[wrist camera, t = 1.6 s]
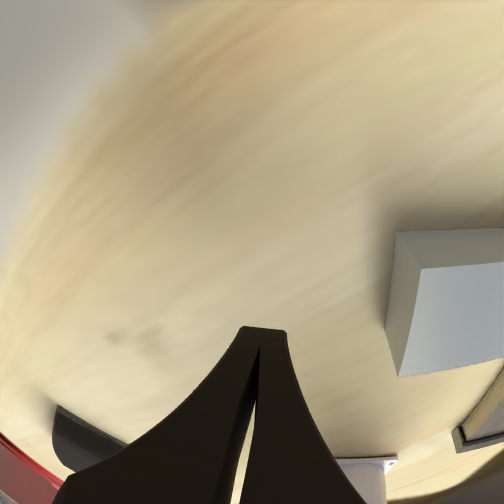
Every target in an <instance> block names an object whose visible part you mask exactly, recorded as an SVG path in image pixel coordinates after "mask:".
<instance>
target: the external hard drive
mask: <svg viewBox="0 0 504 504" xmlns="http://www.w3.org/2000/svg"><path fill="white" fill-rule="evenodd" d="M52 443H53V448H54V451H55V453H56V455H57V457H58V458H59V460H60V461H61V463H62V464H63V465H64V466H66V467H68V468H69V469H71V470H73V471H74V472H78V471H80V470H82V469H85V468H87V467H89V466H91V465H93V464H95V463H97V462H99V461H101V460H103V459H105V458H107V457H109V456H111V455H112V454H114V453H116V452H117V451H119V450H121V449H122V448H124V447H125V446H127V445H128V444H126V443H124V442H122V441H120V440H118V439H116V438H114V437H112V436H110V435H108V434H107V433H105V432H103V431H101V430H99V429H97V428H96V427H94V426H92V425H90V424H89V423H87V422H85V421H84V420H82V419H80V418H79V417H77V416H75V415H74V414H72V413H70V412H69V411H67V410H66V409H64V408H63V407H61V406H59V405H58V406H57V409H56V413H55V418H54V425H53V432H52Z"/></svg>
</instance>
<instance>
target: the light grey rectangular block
mask: <svg viewBox="0 0 504 504" xmlns="http://www.w3.org/2000/svg"><path fill="white" fill-rule="evenodd" d="M385 333H386V336H387V340H388V343H389V347H390V350H391V354H392V357H393V361H394V364H395V368H396V372H397V375H398V377H405V376H413V375H419V374H426V373H432V372H438V371H444V370H449V369H454V368H459V367H464V366H469V365H474V364H478V363H482V362H487V361H491V360H495V359H499V358H503V357H504V227H503V228H473V229H446V230H421V231H398V232H395V245H394V258H393V269H392V279H391V287H390V296H389V303H388V310H387V317H386V324H385Z"/></svg>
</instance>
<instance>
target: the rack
mask: <svg viewBox="0 0 504 504" xmlns="http://www.w3.org/2000/svg"><path fill="white" fill-rule="evenodd" d="M451 434H452V438H453V441H454V445H455V449H456V453H457V454H458V453H462V452H467V451H471V450H475V449H479V448H483V447H487V446H491V445H494V444H498V443H501V442H504V368H503V369H502V371H501V372H500V374H499V375H498V377H497V378H496V380H495V381H494V383H493V384H492V386H491V387H490V388H489V390H488V391H487V393H486V394H485V395H484V397H483V398H482V399H481V401H480V402H479V403H478V405H477V406H476V407H475V409H474V410H473V411H472V412H471V414H470V415H469V416H468V417H467V419H466V420H465V421H464V422H463V423H462V426H457V427H456V428H455V430H454V431H453V432H452V433H451Z"/></svg>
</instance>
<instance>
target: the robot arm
mask: <svg viewBox="0 0 504 504" xmlns="http://www.w3.org/2000/svg"><path fill="white" fill-rule="evenodd" d="M255 400H256V403H255ZM254 404H255V421H254V431H253V437H252V442H251V447H250V453H249V458H248V463H247V468H246V473H245V478H244V483H243V488H242V493H241V497H240V502H239V504H387V496H386V484H385V474H386V473H387V472H388V471H389V470H390V469H391V468H392V467H393V465H394V464H395V463H396V462H397V461H398V457H396V456H393V457H381V458H361V459H334V457H333V456H332V454H331V452H330V450H329V449H328V447H327V445H326V443H325V442H324V440H323V438H322V436H321V434H320V432H319V430H318V428H317V426H316V424H315V422H314V420H313V418H312V416H311V414H310V412H309V409H308V407H307V404H306V402H305V400H304V397H303V395H302V392H301V389H300V386H299V384H298V381H297V378H296V375H295V372H294V368H293V365H292V361H291V357H290V353H289V348H288V342H287V333H286V332H285V331H284V330H276V329H267V328H258V327H249V326H243V327H241V328H240V329H239V331H238V333H237V335H236V337H235V338H234V340H233V342H232V343H231V345H230V346H229V348H228V349H227V351H226V352H225V354H224V355H223V356H222V358H221V359H220V360H219V362H218V363H217V364H216V365H215V367H214V368H213V369H212V371H211V372H210V373H209V374H208V375H207V377H206V378H205V379H204V380H203V381H202V382H201V383H200V384H199V386H198V387H197V388H196V389H195V390H194V391H193V392H192V393H191V394H190V395H189V396H188V397H187V398H186V399H185V400H184V401H183V402H182V403H181V404H180V405H179V406H178V407H177V408H176V409H175V410H174V411H172V412H171V413H170V414H169V415H168V416H167V417H166V418H164V419H163V420H162V421H161V422H159V423H158V424H157V425H156V426H154V427H153V428H152V429H150V430H149V431H148V432H146V433H145V434H144V435H142V436H141V437H139V438H138V439H137V440H135V441H133V442H132V443H130V444H129V445H127V446H125V447H124V448H122V449H121V450H119V451H117V452H116V453H114V454H112V455H111V456H109V457H107V458H105V459H103V460H101V461H99V462H97V463H95V464H93V465H91V466H89V467H87V468H85V469H82V470H80V471H78V472H76V473H73V474H71V475H69V476H68V477H67V479H66V480H65V482H64V483H63V485H62V486H61V487H60V489H59V491H58V492H57V495H56V496H55V499H54V501H53V503H52V504H230V502H231V497H232V492H233V486H234V481H235V476H236V470H237V466H238V462H239V458H240V454H241V451H242V447H243V444H244V440H245V437H246V433H247V430H248V426H249V423H250V419H251V415H252V412H253V408H254ZM0 504H18V503H16V502H15V501H14V500H12V499H11V498H10V497H8V496H7V495H6V494H4V493H3V492H2V491H1V490H0Z"/></svg>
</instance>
